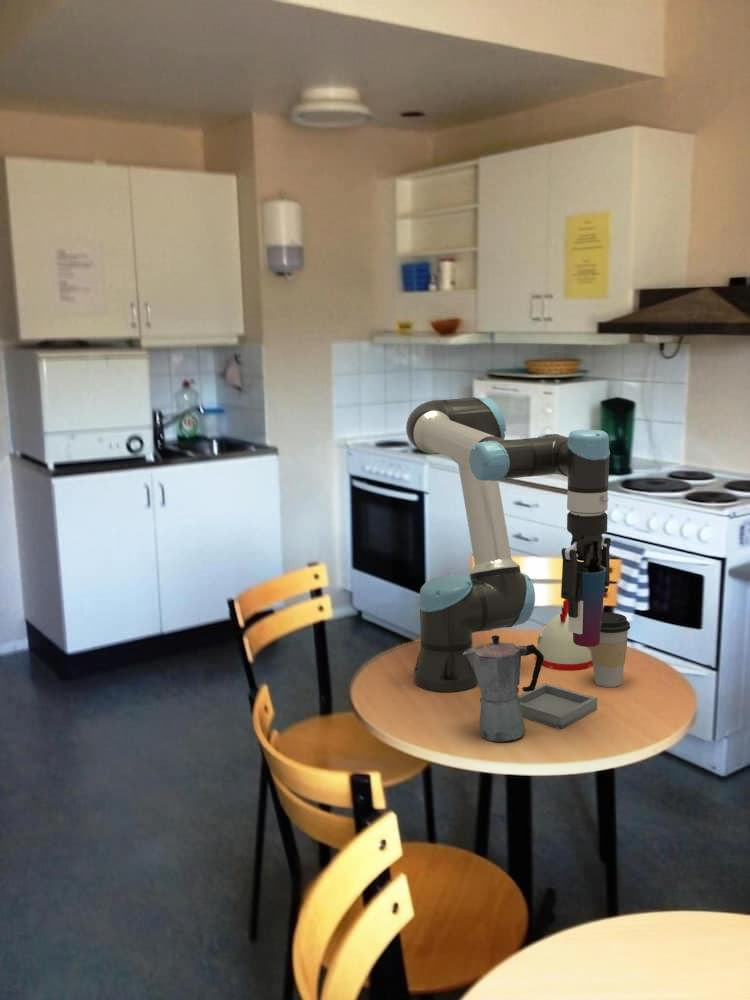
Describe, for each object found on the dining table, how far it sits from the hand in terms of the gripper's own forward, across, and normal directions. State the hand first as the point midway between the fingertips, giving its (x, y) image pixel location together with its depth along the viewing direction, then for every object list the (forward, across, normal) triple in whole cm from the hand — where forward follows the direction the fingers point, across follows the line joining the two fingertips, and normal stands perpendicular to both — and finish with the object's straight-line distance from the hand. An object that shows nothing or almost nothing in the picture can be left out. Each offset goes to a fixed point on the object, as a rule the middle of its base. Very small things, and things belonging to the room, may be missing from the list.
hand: (585, 627), depth 182 cm
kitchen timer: (+21, +29, +24) cm, 43 cm away
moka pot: (+21, -13, +10) cm, 26 cm away
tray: (+20, +2, +9) cm, 22 cm away
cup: (+3, 0, 0) cm, 3 cm away
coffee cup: (+21, +23, +8) cm, 32 cm away
